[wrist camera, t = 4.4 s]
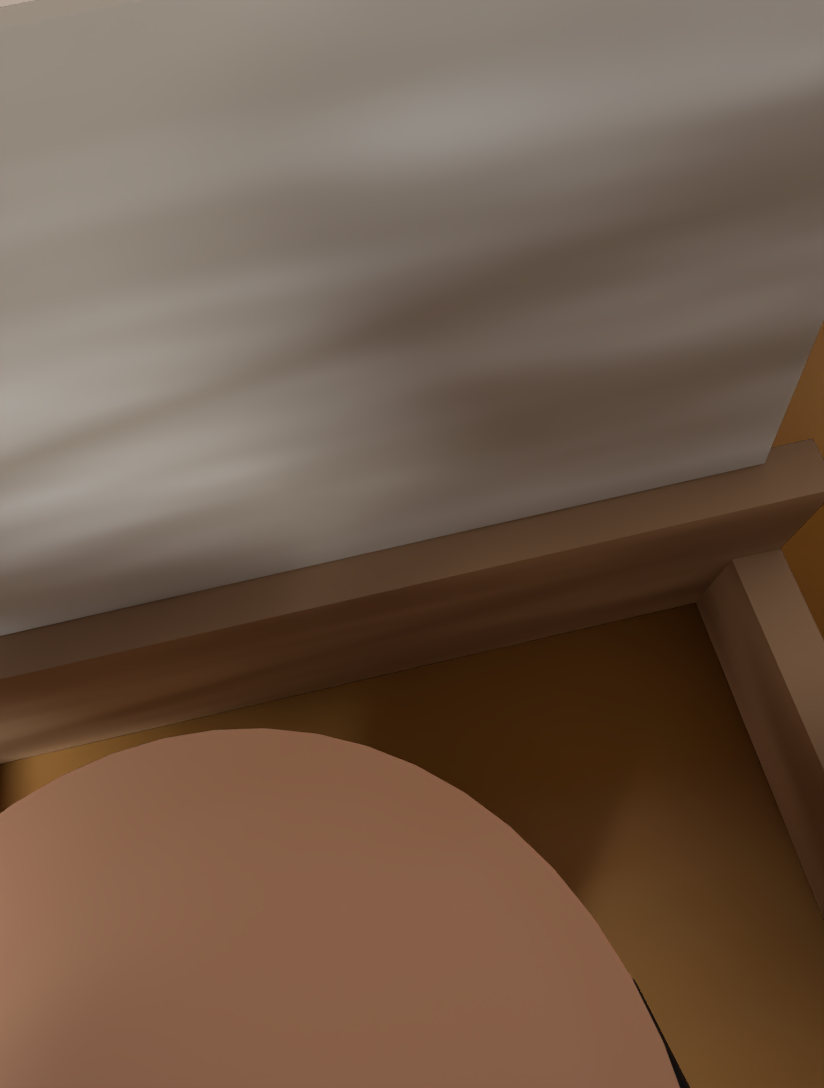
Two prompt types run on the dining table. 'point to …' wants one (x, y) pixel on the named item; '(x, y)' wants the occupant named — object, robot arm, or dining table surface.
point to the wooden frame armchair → (403, 349)
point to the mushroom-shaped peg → (297, 931)
